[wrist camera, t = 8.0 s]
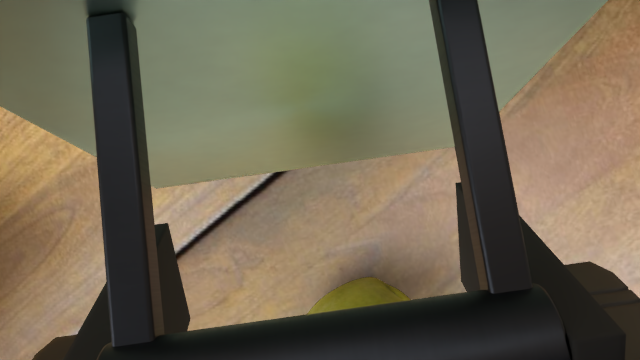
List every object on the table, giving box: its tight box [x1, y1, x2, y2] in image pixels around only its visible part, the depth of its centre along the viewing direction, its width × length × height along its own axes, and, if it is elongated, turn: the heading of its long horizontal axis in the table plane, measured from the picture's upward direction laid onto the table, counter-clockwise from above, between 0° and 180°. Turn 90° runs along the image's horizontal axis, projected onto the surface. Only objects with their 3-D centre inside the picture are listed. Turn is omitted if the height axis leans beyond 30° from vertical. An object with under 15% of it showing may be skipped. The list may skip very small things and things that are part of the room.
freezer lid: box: [0, 0, 608, 360], centre depth 17 cm, size 19×14×8 cm
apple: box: [308, 277, 411, 314], centre depth 39 cm, size 8×9×8 cm
